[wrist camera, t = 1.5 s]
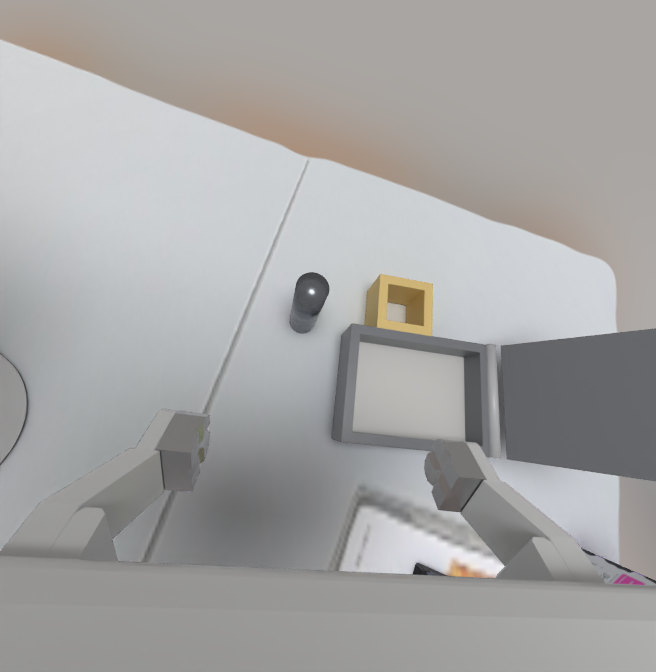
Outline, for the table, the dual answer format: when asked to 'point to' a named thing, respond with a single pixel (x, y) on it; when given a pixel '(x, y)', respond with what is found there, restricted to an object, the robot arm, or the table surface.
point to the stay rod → (308, 301)
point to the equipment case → (415, 391)
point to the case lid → (583, 403)
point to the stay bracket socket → (403, 293)
